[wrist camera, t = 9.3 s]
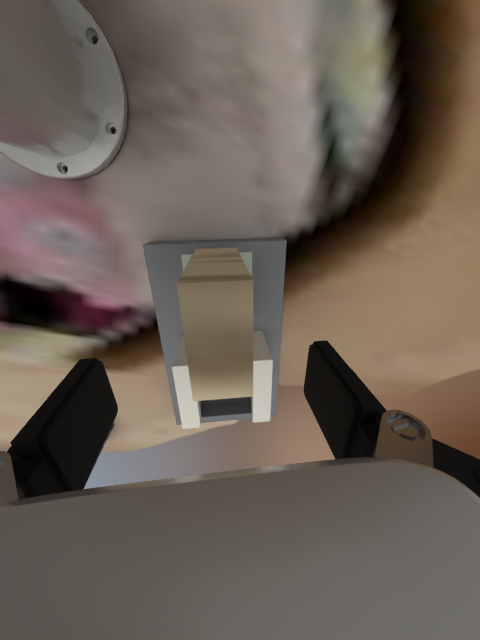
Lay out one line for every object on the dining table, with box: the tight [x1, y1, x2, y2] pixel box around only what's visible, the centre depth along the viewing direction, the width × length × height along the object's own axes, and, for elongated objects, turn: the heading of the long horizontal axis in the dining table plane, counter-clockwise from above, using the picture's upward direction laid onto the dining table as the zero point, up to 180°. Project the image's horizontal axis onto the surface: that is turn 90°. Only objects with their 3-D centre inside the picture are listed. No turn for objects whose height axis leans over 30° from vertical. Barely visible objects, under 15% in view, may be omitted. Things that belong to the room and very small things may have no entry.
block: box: [177, 247, 253, 401], centre depth 19 cm, size 8×4×12 cm, turn 1°
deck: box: [143, 238, 287, 425], centre depth 29 cm, size 24×14×3 cm, turn 1°
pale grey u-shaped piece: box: [172, 330, 273, 429], centre depth 26 cm, size 8×9×6 cm
